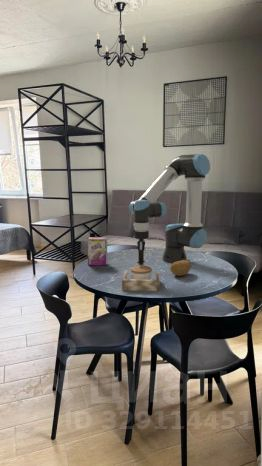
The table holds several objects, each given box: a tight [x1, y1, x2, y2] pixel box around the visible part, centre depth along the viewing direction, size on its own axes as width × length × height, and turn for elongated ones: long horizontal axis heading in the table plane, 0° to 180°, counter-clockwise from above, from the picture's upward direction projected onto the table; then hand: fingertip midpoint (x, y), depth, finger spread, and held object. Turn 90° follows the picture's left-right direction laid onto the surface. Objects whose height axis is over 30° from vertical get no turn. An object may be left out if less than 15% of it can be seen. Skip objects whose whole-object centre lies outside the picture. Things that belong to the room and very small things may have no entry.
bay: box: [121, 270, 160, 292], centre depth 156 cm, size 17×15×5 cm
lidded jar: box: [129, 265, 153, 280], centre depth 158 cm, size 11×11×9 cm
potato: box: [169, 259, 192, 277], centre depth 171 cm, size 10×14×8 cm
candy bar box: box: [87, 236, 108, 267], centre depth 191 cm, size 11×5×16 cm, turn 84°
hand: (141, 274), depth 167 cm, fingers closed
